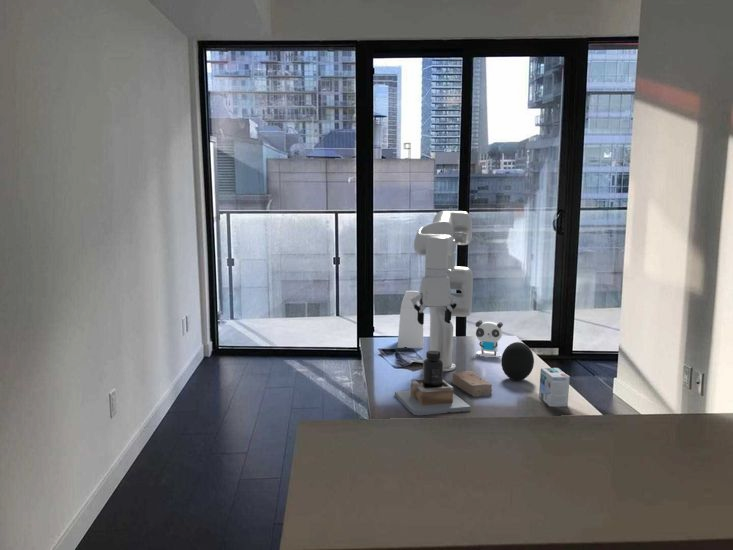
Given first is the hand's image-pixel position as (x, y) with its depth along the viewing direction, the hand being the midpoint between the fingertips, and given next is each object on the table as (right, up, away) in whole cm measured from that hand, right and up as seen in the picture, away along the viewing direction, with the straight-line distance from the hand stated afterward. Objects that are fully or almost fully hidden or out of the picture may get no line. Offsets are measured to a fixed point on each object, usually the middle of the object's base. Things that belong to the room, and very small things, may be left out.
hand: (434, 323), depth 204 cm
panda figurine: (+32, -20, +69) cm, 79 cm away
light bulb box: (+43, -29, +8) cm, 52 cm away
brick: (+16, -27, +20) cm, 37 cm away
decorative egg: (+36, -25, +32) cm, 54 cm away
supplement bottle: (0, -22, +3) cm, 22 cm away
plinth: (-1, -26, +4) cm, 27 cm away
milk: (-2, -17, +83) cm, 85 cm away
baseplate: (-1, -28, +4) cm, 28 cm away
